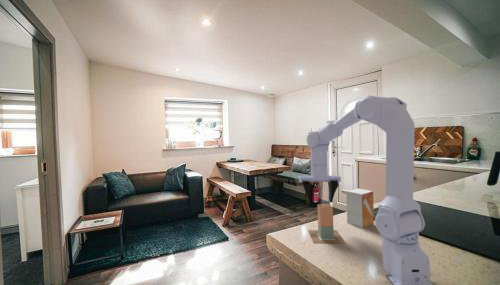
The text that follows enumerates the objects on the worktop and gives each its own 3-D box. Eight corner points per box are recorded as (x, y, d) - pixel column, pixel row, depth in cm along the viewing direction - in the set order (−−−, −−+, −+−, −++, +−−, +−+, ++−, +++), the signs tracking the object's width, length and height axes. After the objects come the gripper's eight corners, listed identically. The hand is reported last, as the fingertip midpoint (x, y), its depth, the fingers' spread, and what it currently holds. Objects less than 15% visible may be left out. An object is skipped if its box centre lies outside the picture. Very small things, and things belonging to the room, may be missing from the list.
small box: (362, 230, 77) (362, 194, 77) (346, 224, 82) (345, 191, 82) (374, 225, 81) (373, 190, 81) (358, 220, 86) (357, 188, 86)
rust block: (333, 226, 69) (332, 208, 69) (320, 226, 69) (320, 208, 69) (329, 221, 73) (329, 204, 73) (317, 221, 73) (317, 204, 73)
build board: (346, 246, 66) (346, 243, 66) (313, 246, 66) (313, 243, 66) (336, 232, 76) (336, 230, 76) (307, 232, 76) (307, 229, 76)
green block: (333, 239, 69) (333, 226, 69) (321, 239, 69) (320, 226, 69) (330, 233, 73) (329, 222, 73) (318, 233, 73) (317, 222, 73)
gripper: (336, 162, 81) (336, 198, 81) (297, 163, 82) (298, 198, 83) (342, 165, 74) (343, 204, 74) (300, 165, 75) (301, 204, 75)
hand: (319, 201), depth 78 cm, fingers open, 7 cm apart
